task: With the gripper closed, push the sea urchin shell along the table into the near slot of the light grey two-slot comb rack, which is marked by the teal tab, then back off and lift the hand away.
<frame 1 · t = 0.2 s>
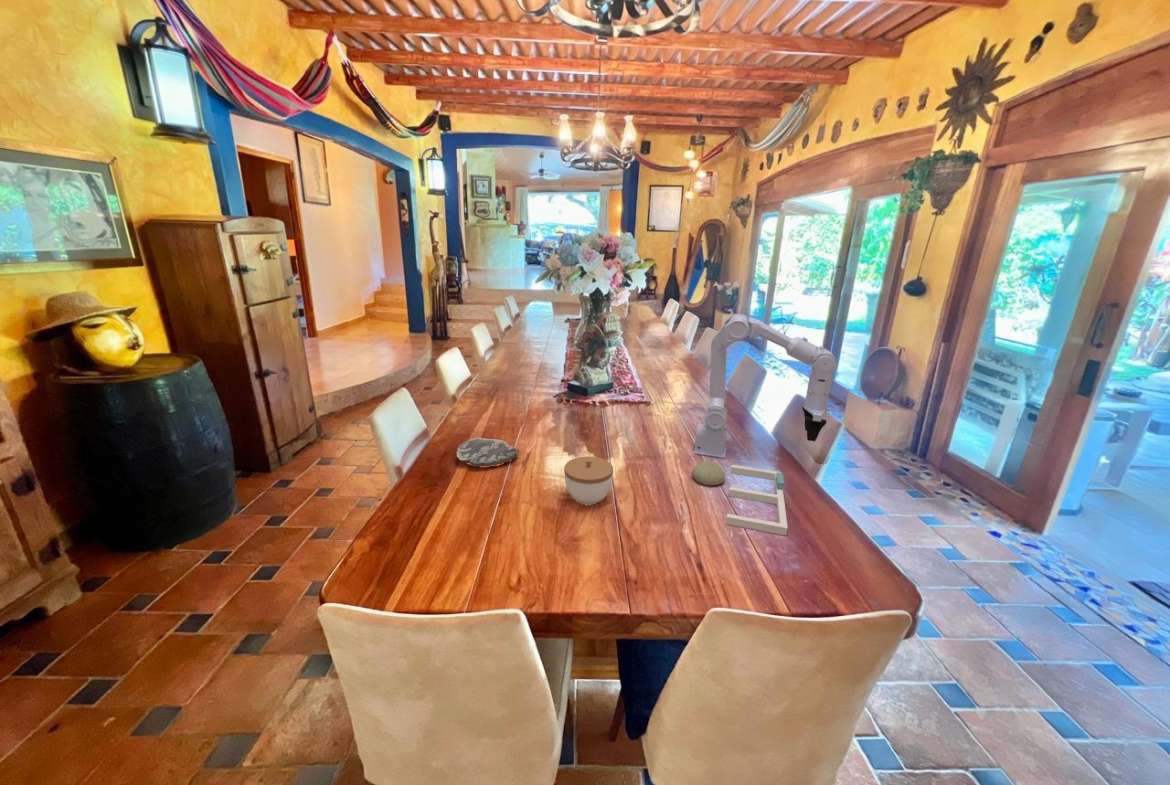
hand: (810, 435, 138), 10 cm above the table, tool pointing down, fingers open, 7 cm apart
lidded bowl: (588, 498, 123), on the table
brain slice: (485, 459, 144), on the table
sea urchin shell: (707, 480, 133), on the table
comb rack: (737, 483, 131), on the table
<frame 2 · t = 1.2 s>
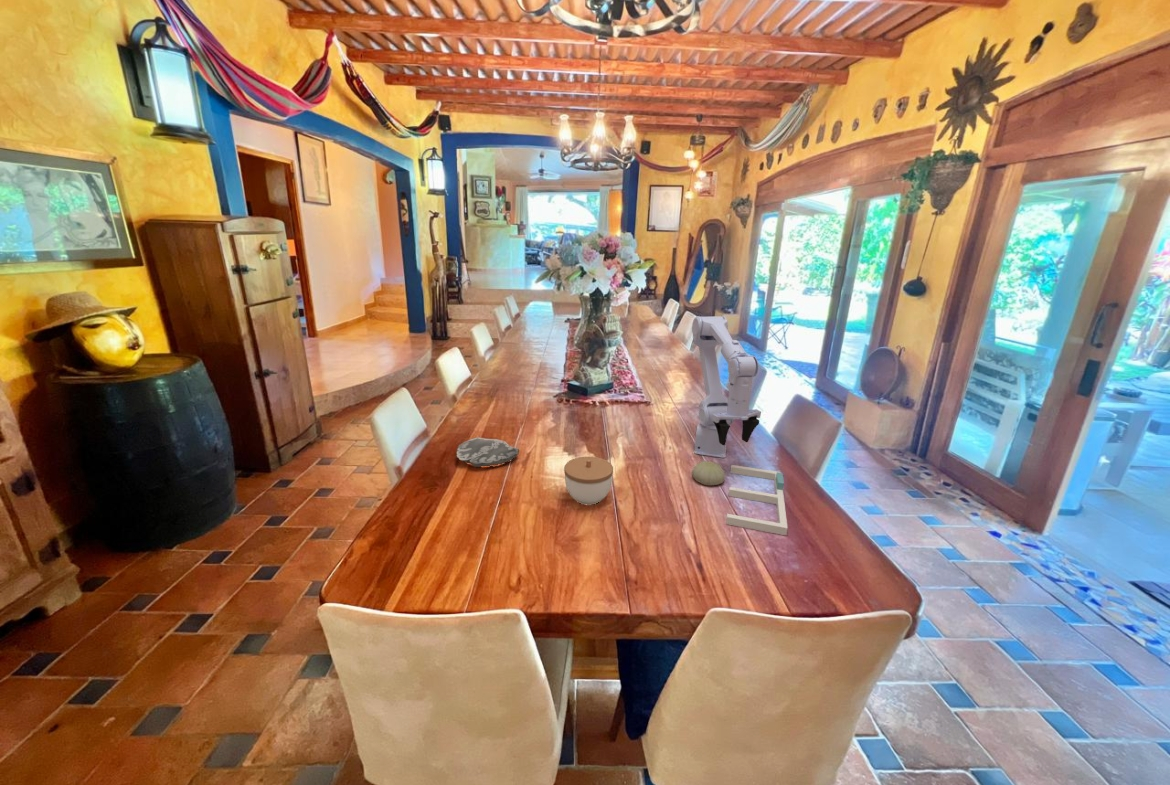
hand: (733, 442, 135), 9 cm above the table, tool pointing down, fingers open, 7 cm apart
nothing on the table moved.
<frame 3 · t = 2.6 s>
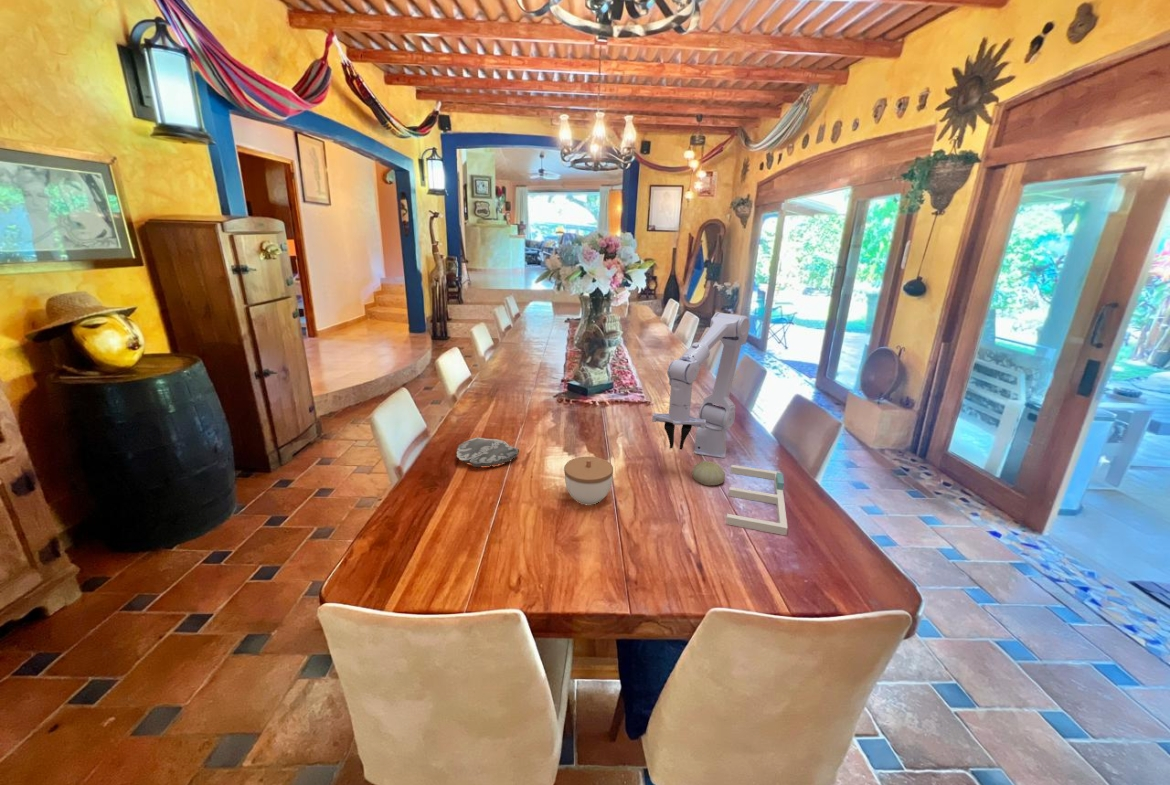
hand: (676, 447, 133), 8 cm above the table, tool pointing down, fingers closed
nothing on the table moved.
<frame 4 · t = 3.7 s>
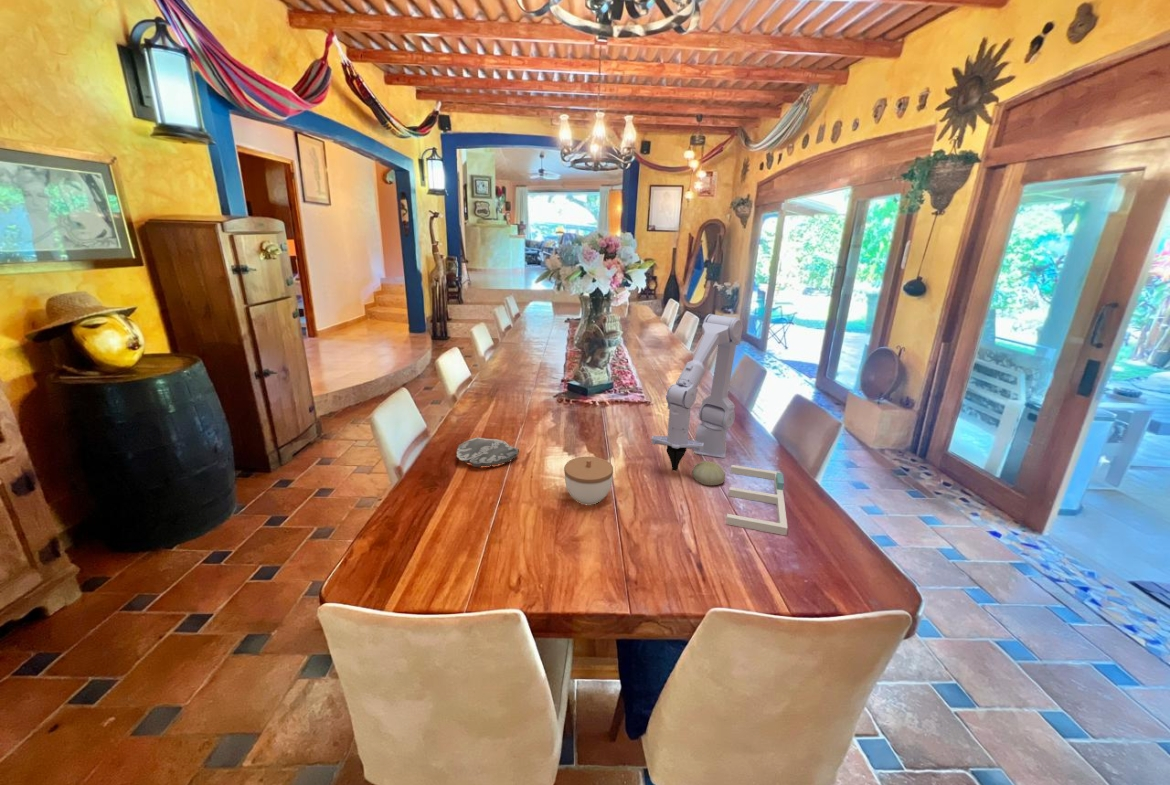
hand: (675, 469, 136), 1 cm above the table, tool pointing down, fingers closed
nothing on the table moved.
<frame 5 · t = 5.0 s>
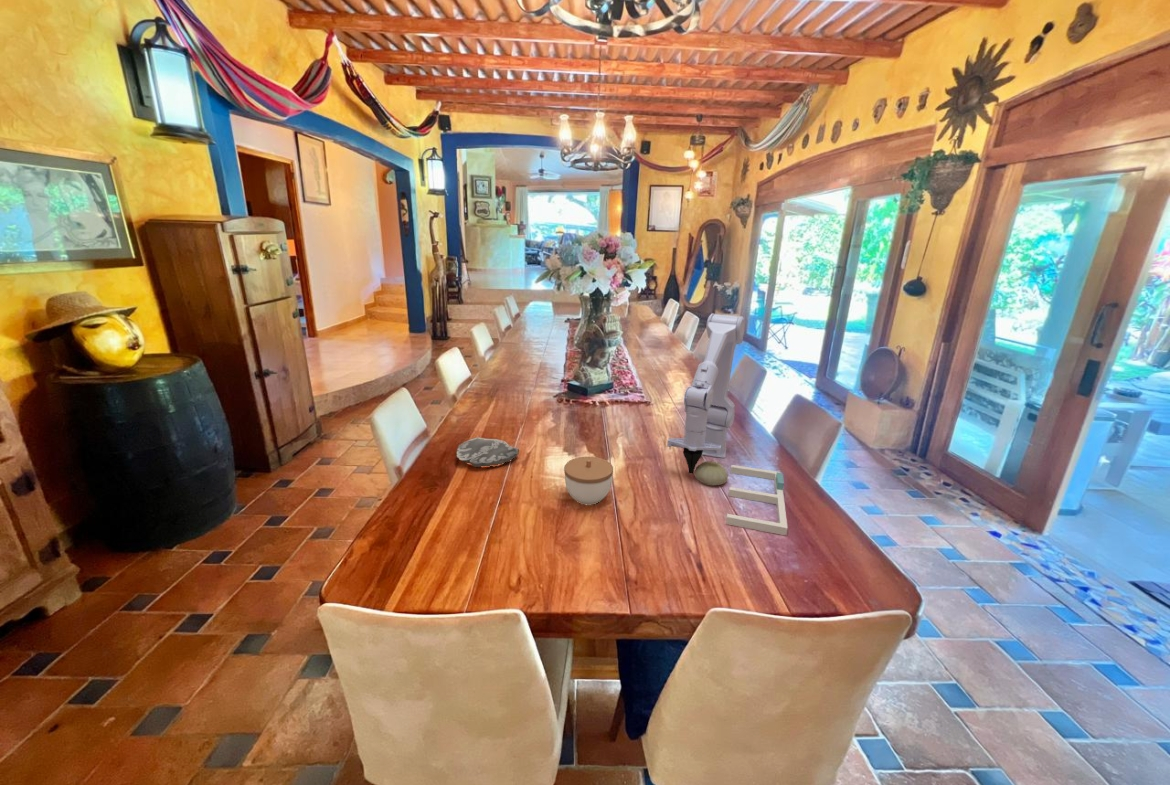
hand: (691, 472, 134), 1 cm above the table, tool pointing down, fingers closed
sea urchin shell: (710, 480, 133), on the table, touching gripper
everything else where it was.
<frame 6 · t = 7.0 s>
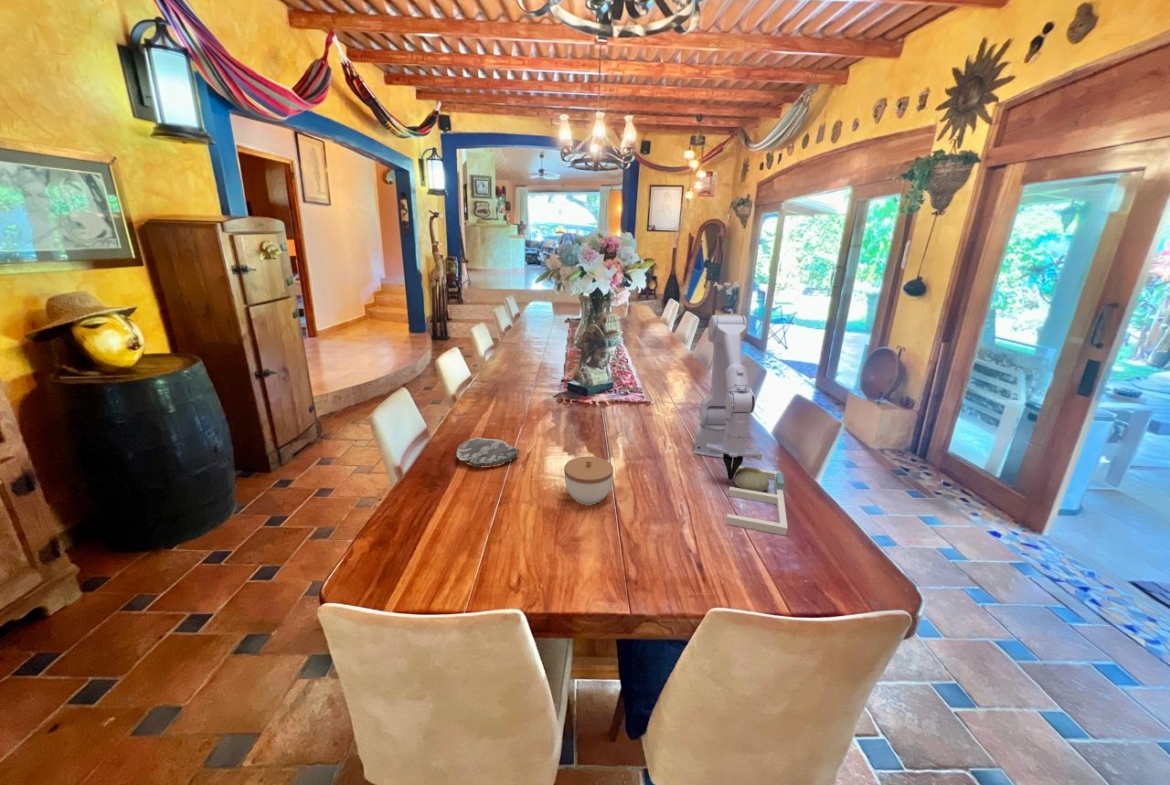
hand: (730, 478, 131), 1 cm above the table, tool pointing down, fingers closed
sea urchin shell: (750, 486, 130), on the table, touching gripper
everything else where it was.
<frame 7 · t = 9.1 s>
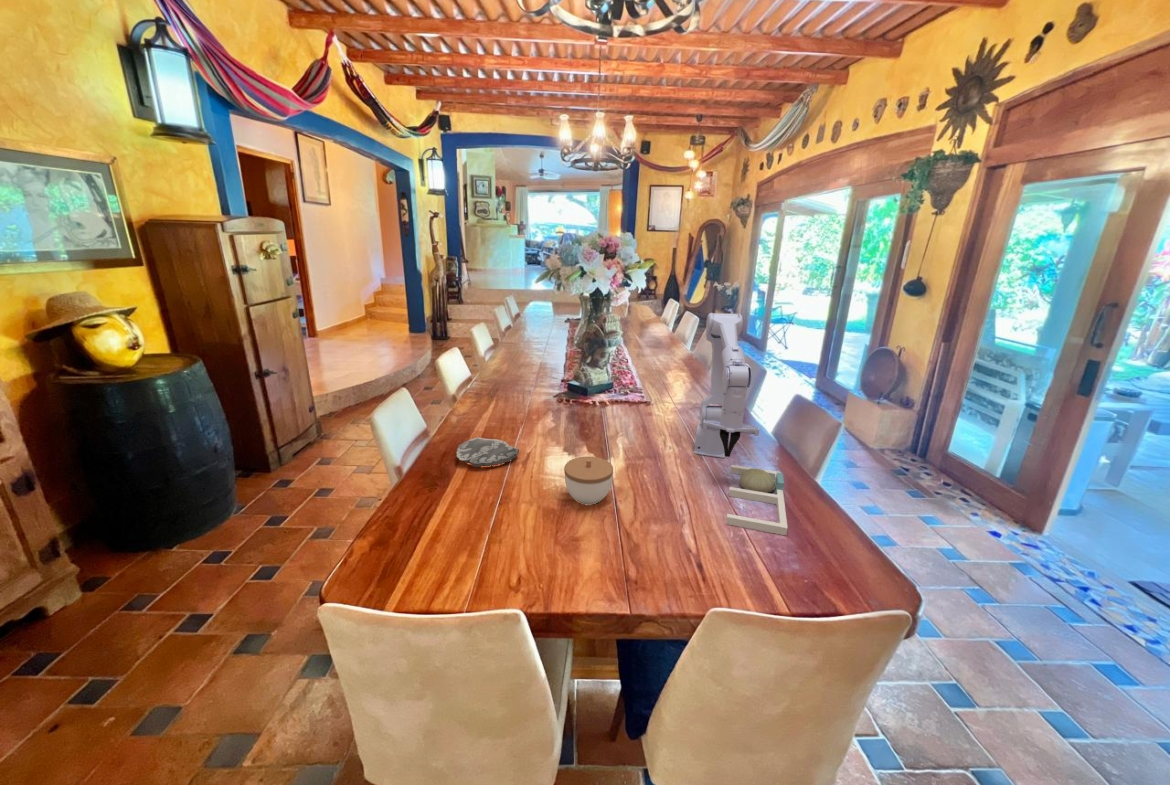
hand: (727, 455, 129), 8 cm above the table, tool pointing down, fingers closed
sea urchin shell: (755, 488, 129), on the table
everything else where it was.
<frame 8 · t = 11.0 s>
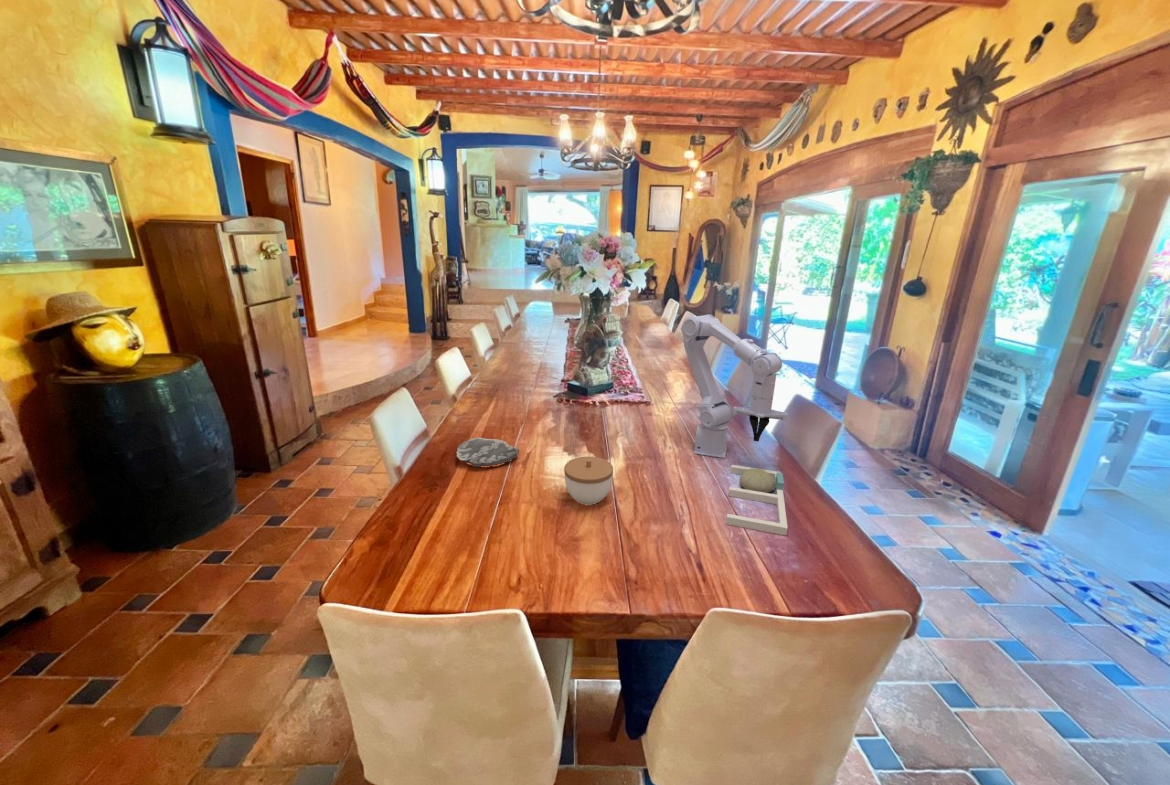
hand: (756, 439, 136), 9 cm above the table, tool pointing down, fingers closed
nothing on the table moved.
at the end: sea urchin shell inside the target area on the comb rack (0.3 cm from its centre), point 0.0 cm above the comb rack's base; sea urchin shell moved 13.1 cm from its start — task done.
